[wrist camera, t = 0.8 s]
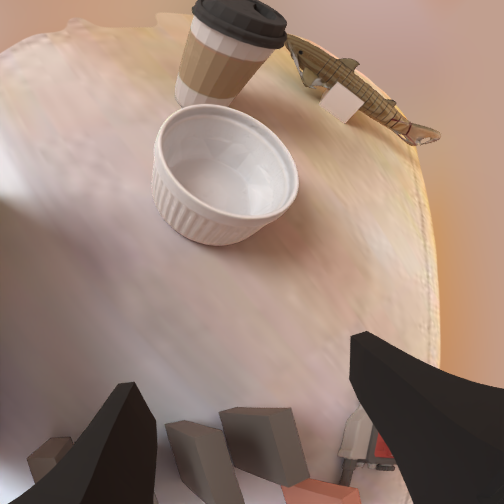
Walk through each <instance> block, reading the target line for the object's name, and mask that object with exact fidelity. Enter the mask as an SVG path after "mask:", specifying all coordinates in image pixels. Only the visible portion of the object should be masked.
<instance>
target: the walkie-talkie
mask: <svg viewBox="0 0 504 504" xmlns="http://www.w3.org/2000/svg"><path fill="white" fill-rule="evenodd" d="M338 456H339V457H344V458H345V459H344V463H343V467H342V469H343V472H342V476H341V480H340V484H339V485H341V486H347V487H349V485H350V481H351V478H352V474H353V471H354V470H355V468H356V467H361V468H363V465H364V464H365V463H368V464H369V465H368V468H376V465H378V464H380V466H377V468H376V469H377V470H383V471H394V470H395V467H394V466H393V465H394V464H397V463H396V461H395V459H394V457H393V455H392V453H391V452H390V450H389V448H388V446H387V445H386V443H385V442H384V440H383V439H382V437H381V435H380V434H379V432H378V431H377V429H376V428H375V426H374V424H373V423H372V421H371V420H370V418H369V416H368V415H367V413H366V412H365V410H364V409H363V407H362V405H361V404H360V406H359V407H358V408H357V410H356V411H355V412H354V413H353V414H352V415H351V417H350V418H349V419H348V420H347V423H346V428H345V432H344V437H343V441H342V446H341V449H340V450H339V453H338Z"/></svg>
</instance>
